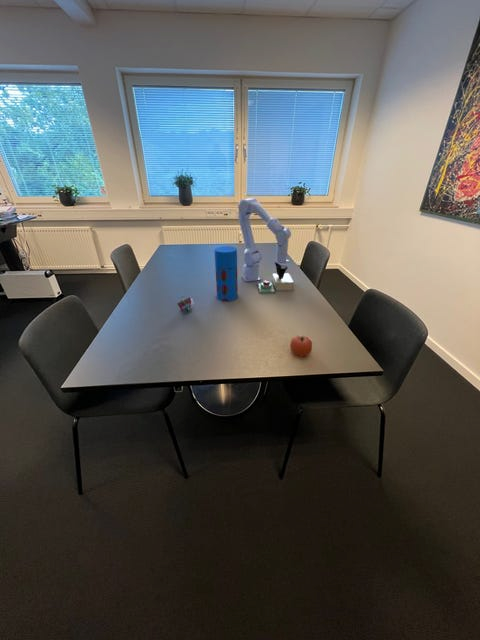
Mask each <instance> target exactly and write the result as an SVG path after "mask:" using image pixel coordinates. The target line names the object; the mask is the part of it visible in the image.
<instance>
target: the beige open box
mask: <svg viewBox="0 0 480 640" xmlns="http://www.w3.org/2000/svg"><path fill="white" fill-rule="evenodd" d="M272 284H273V287H274V289H275V291H294V287H295V282H294V283H280V284H276V282H275V280H274V277H273V276H272Z"/></svg>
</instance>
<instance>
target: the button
mask: <svg viewBox="0 0 480 640" xmlns="http://www.w3.org/2000/svg"><path fill="white" fill-rule="evenodd" d="M262 282H263V285H269V282H270V281H269V280H267V279H266V280H263V281H262Z"/></svg>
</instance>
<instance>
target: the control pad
mask: <svg viewBox="0 0 480 640" xmlns="http://www.w3.org/2000/svg"><path fill="white" fill-rule="evenodd" d="M263 282H264V281H262V282H260V283H259V282H258V283H257V287H258V291H259V293H260V294H275V293H276V289H275V287H274V284H273V282H270V281H269V285H263Z"/></svg>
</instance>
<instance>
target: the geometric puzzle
mask: <svg viewBox="0 0 480 640" xmlns="http://www.w3.org/2000/svg"><path fill="white" fill-rule="evenodd" d="M180 300H181V301H179V302H177V306H178V307H179V309H180V311H185V310H187V311H188V312H190V311H191V309H192V308H193V306H194V305H195V302H194V299H193V298H191V297H186V298H185V299H184V296H181V299H180ZM191 307H192V308H191Z"/></svg>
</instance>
